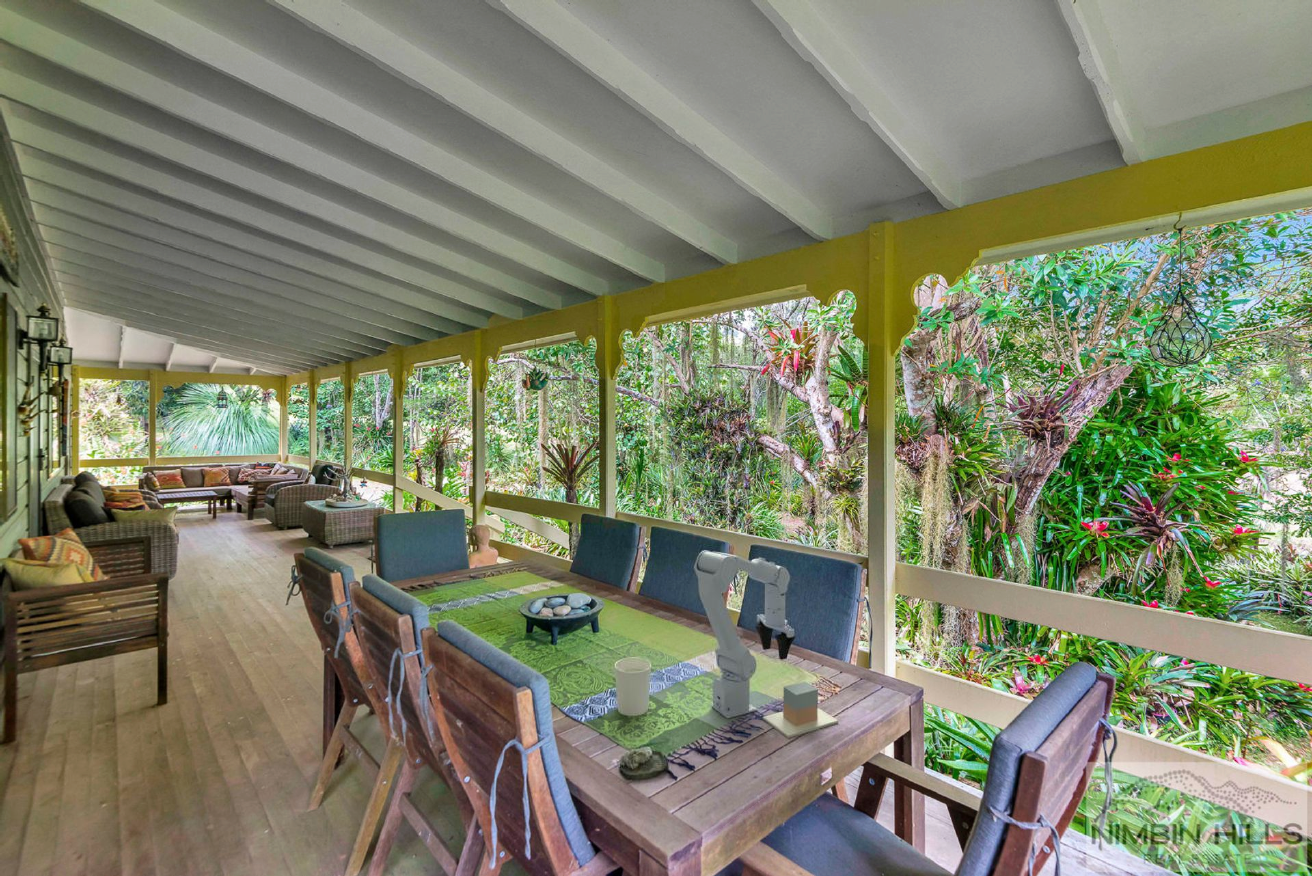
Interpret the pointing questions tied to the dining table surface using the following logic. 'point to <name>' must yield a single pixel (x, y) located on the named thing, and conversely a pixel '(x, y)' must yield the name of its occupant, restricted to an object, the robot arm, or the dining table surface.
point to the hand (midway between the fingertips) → (774, 653)
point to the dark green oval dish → (642, 764)
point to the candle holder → (632, 685)
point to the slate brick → (800, 695)
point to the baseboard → (793, 730)
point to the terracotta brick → (800, 714)
